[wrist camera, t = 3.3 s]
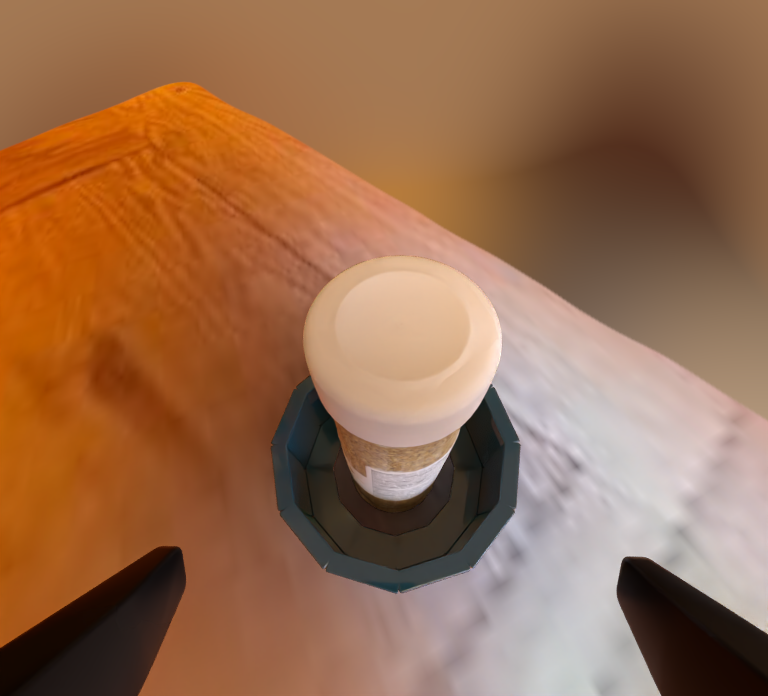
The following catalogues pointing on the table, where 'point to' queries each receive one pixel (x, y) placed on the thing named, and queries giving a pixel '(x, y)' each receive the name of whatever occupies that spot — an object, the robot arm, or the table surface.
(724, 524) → the table surface
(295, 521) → the bowl
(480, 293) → the spice jar
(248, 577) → the table surface
